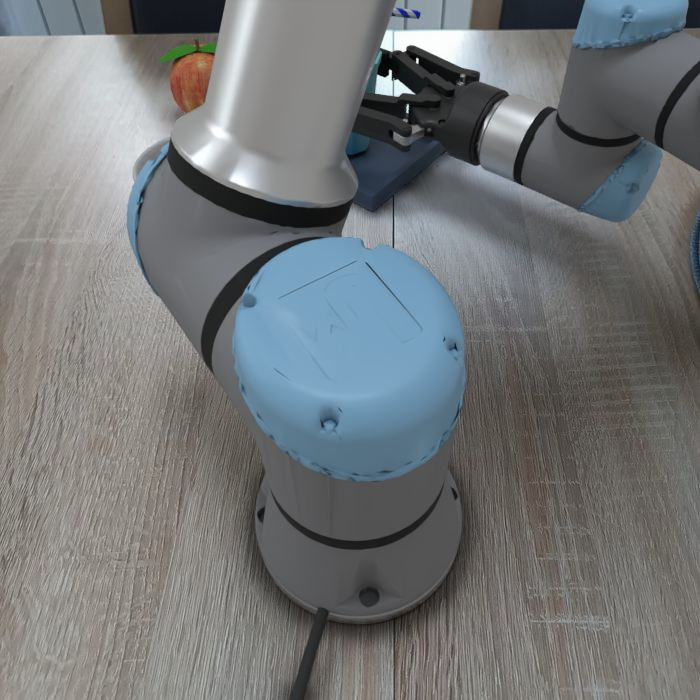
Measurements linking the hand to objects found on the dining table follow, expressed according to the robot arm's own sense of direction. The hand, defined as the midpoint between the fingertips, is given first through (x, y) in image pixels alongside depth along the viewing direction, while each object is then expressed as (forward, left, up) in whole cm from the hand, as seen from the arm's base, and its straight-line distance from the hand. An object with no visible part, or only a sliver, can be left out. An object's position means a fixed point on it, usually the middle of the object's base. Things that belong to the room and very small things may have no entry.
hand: (319, 62), depth 74 cm
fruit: (-5, +15, -10) cm, 19 cm away
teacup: (-19, +1, -10) cm, 21 cm away
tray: (0, -5, -10) cm, 11 cm away
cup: (0, -5, -9) cm, 10 cm away
